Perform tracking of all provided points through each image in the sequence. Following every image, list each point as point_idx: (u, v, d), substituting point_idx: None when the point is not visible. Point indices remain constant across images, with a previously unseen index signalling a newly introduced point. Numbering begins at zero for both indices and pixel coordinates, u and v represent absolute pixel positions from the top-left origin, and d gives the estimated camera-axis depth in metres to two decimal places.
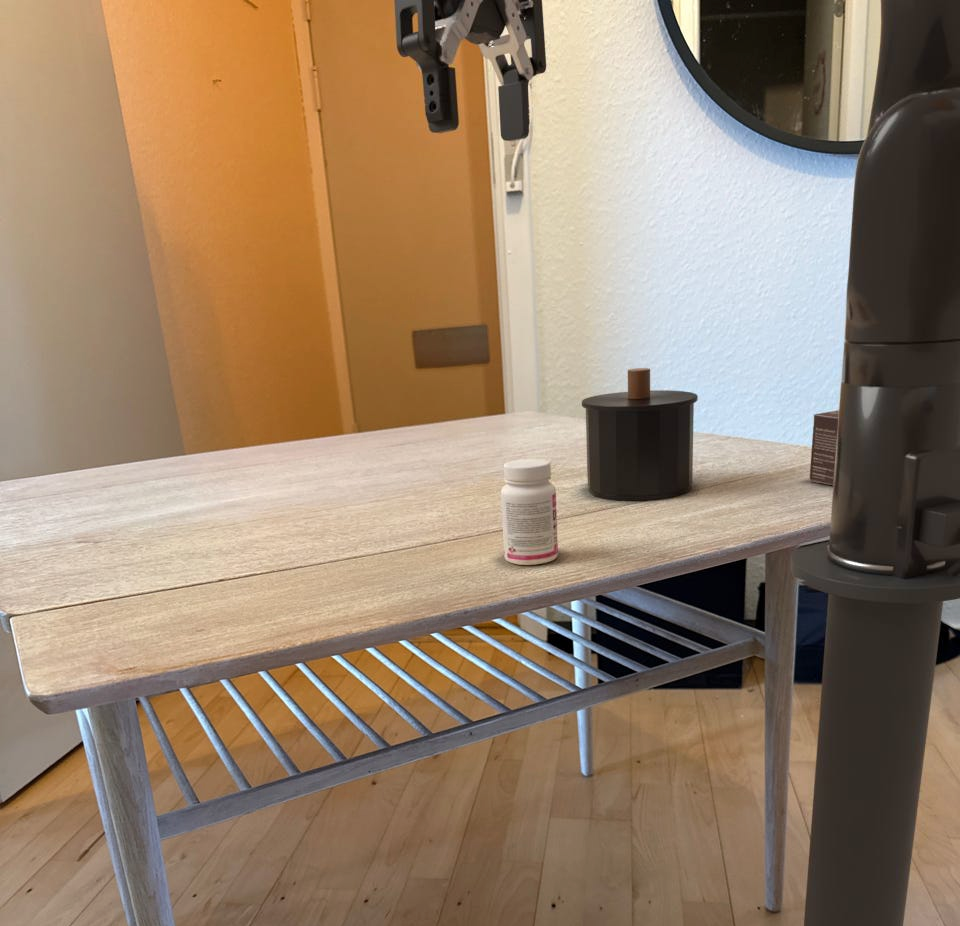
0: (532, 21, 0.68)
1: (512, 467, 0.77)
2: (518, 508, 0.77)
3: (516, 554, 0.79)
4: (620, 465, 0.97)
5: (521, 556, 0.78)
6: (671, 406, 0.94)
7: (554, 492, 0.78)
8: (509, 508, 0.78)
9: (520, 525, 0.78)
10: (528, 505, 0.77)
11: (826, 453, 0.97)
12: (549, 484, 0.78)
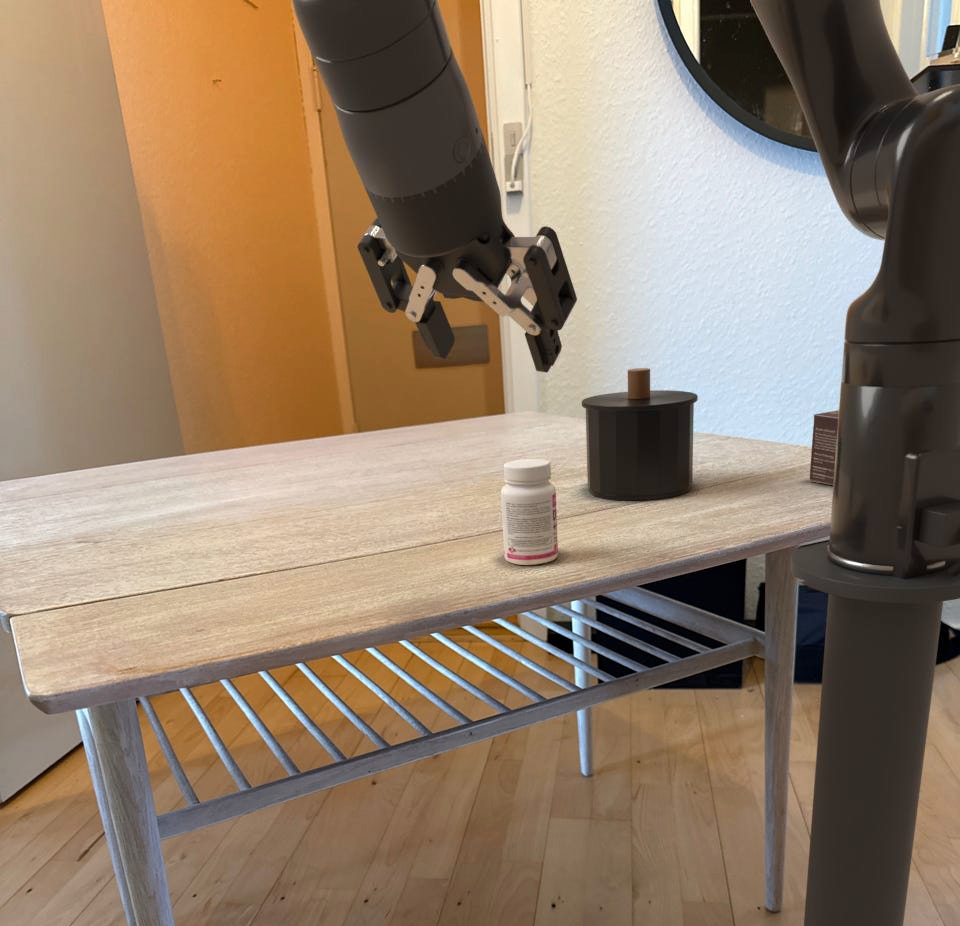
0: None
1: (512, 467, 0.77)
2: (518, 508, 0.77)
3: (516, 554, 0.79)
4: (620, 465, 0.97)
5: (521, 556, 0.78)
6: (671, 406, 0.94)
7: (554, 492, 0.78)
8: (509, 508, 0.78)
9: (520, 525, 0.78)
10: (528, 505, 0.77)
11: (826, 453, 0.97)
12: (549, 484, 0.78)
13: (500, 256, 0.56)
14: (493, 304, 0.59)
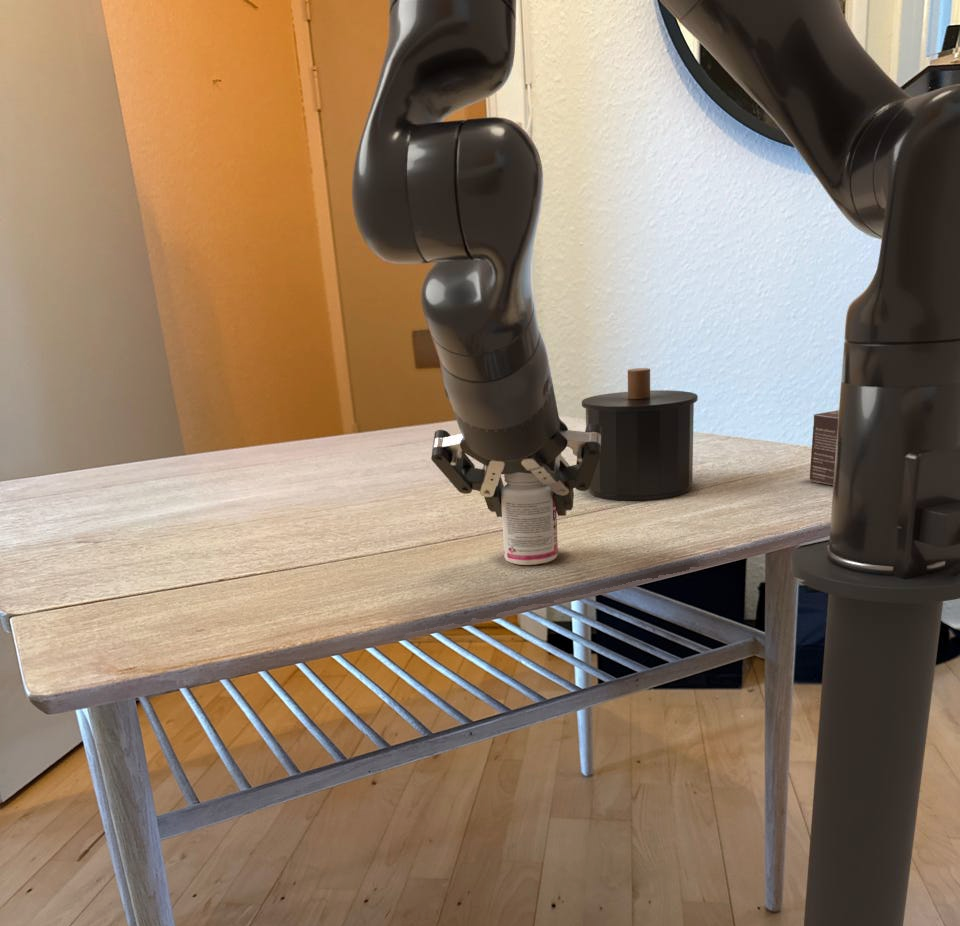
0: None
1: None
2: (518, 508, 0.77)
3: (516, 554, 0.79)
4: (620, 465, 0.97)
5: (521, 556, 0.78)
6: (671, 406, 0.94)
7: None
8: (509, 508, 0.78)
9: (520, 525, 0.78)
10: (528, 505, 0.77)
11: (826, 453, 0.97)
12: None
13: (562, 444, 0.70)
14: (542, 478, 0.74)
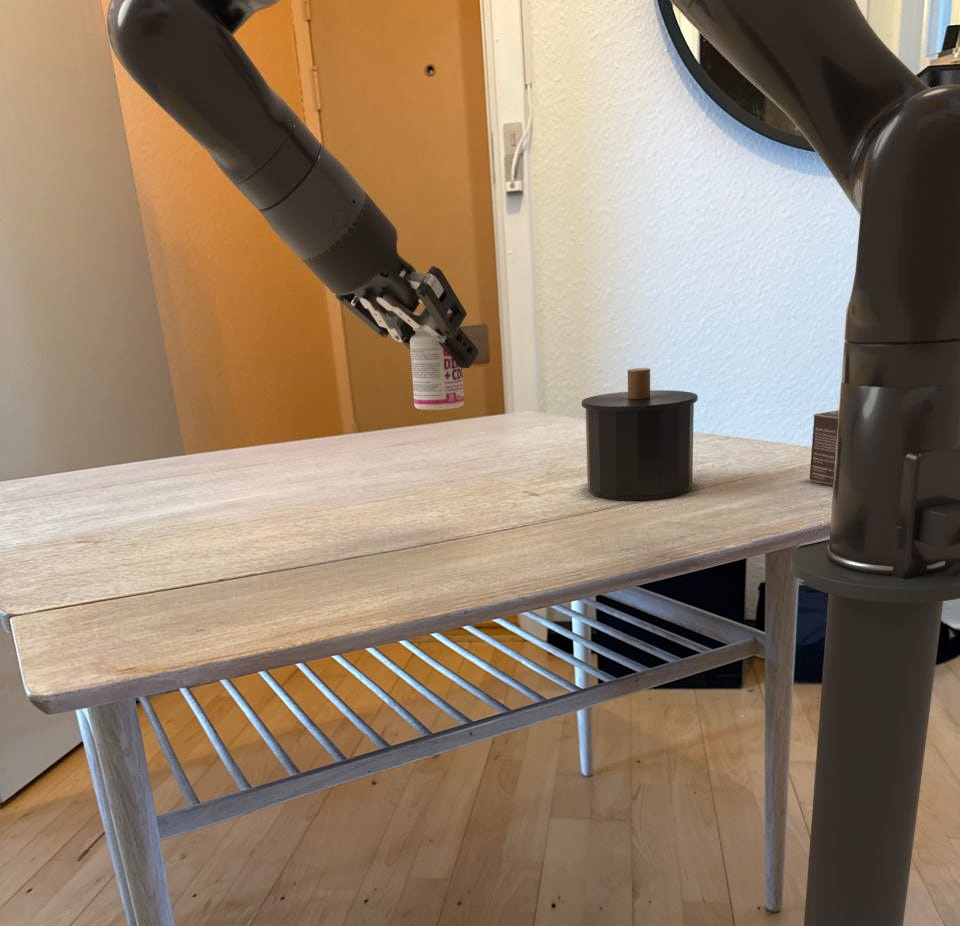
0: None
1: None
2: (412, 353, 0.83)
3: (414, 398, 0.85)
4: (620, 465, 0.97)
5: (416, 400, 0.85)
6: (671, 406, 0.94)
7: None
8: None
9: (414, 369, 0.84)
10: (417, 350, 0.83)
11: (826, 453, 0.97)
12: None
13: (399, 284, 0.76)
14: (408, 321, 0.79)
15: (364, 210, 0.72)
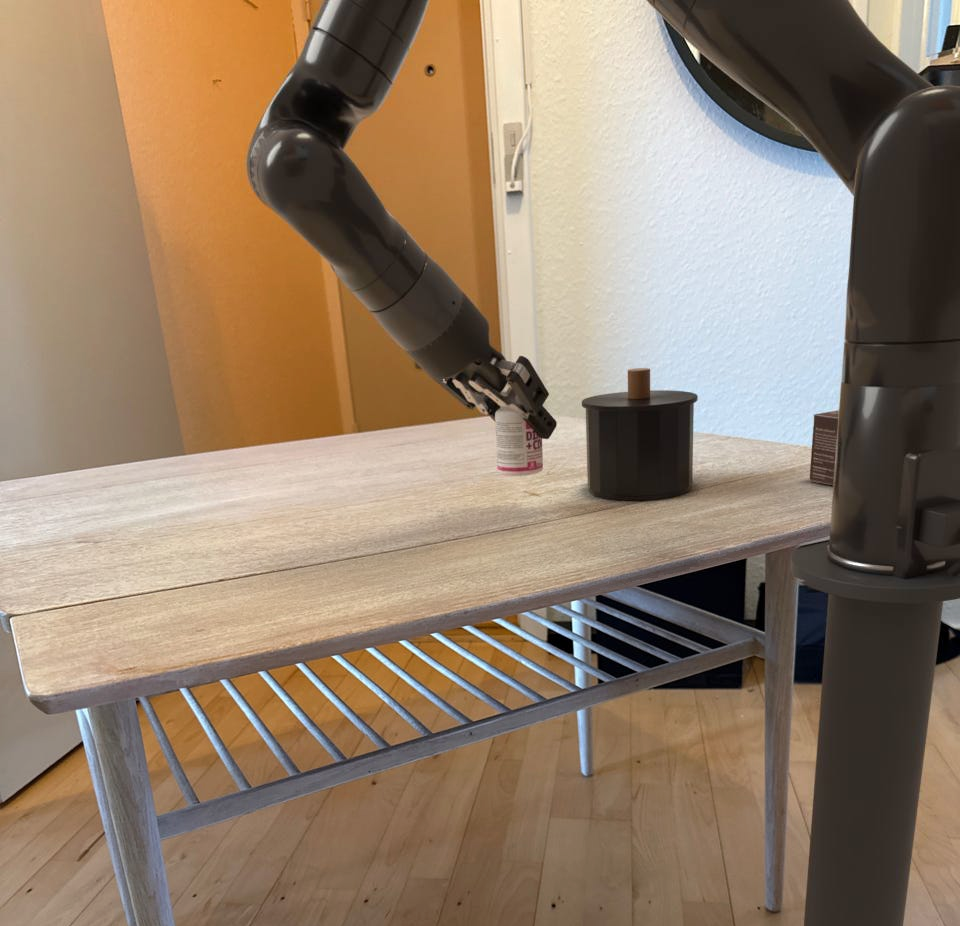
0: None
1: None
2: (497, 425, 0.93)
3: (498, 465, 0.94)
4: (620, 465, 0.97)
5: (499, 467, 0.94)
6: (671, 406, 0.94)
7: None
8: (495, 425, 0.94)
9: (498, 440, 0.93)
10: (502, 424, 0.92)
11: (826, 453, 0.97)
12: None
13: (491, 371, 0.85)
14: (496, 400, 0.89)
15: (462, 309, 0.82)
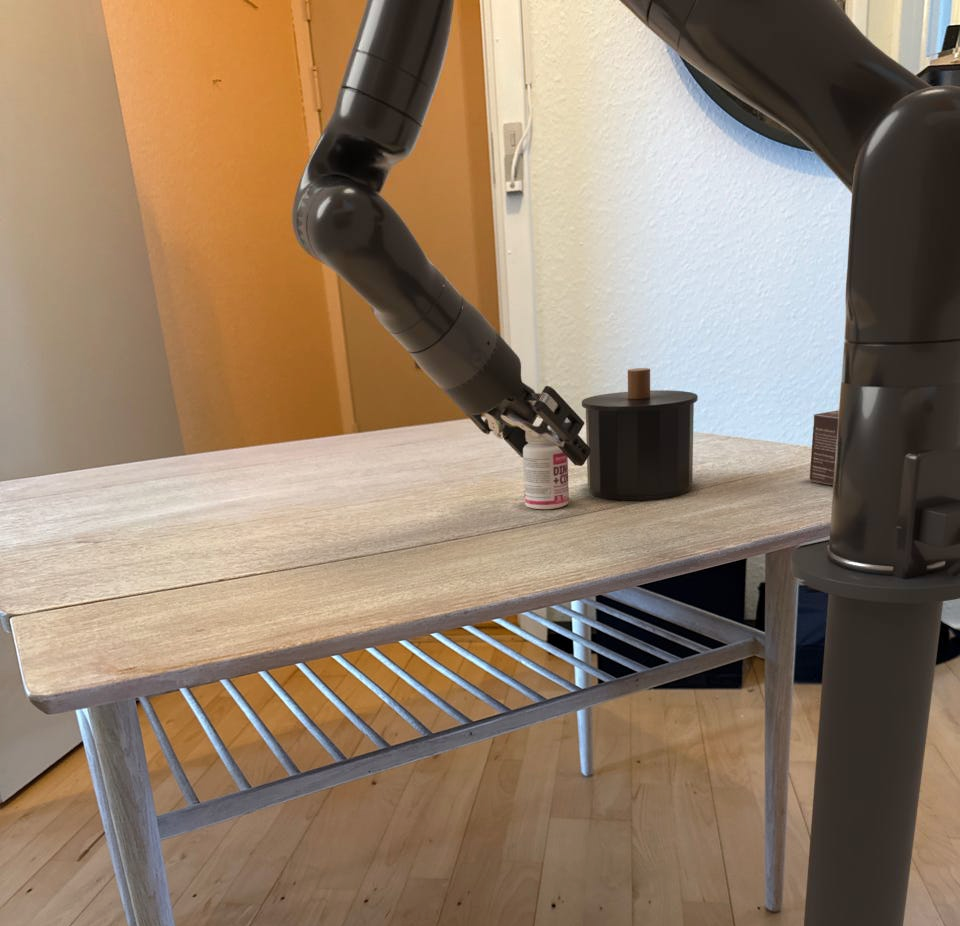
0: None
1: None
2: (525, 461, 0.96)
3: (525, 498, 0.98)
4: (620, 465, 0.97)
5: (527, 500, 0.98)
6: (671, 406, 0.94)
7: (557, 452, 0.95)
8: (523, 460, 0.97)
9: (526, 474, 0.97)
10: (530, 460, 0.96)
11: (826, 453, 0.97)
12: (555, 445, 0.95)
13: (523, 406, 0.88)
14: (530, 432, 0.91)
15: (496, 349, 0.85)
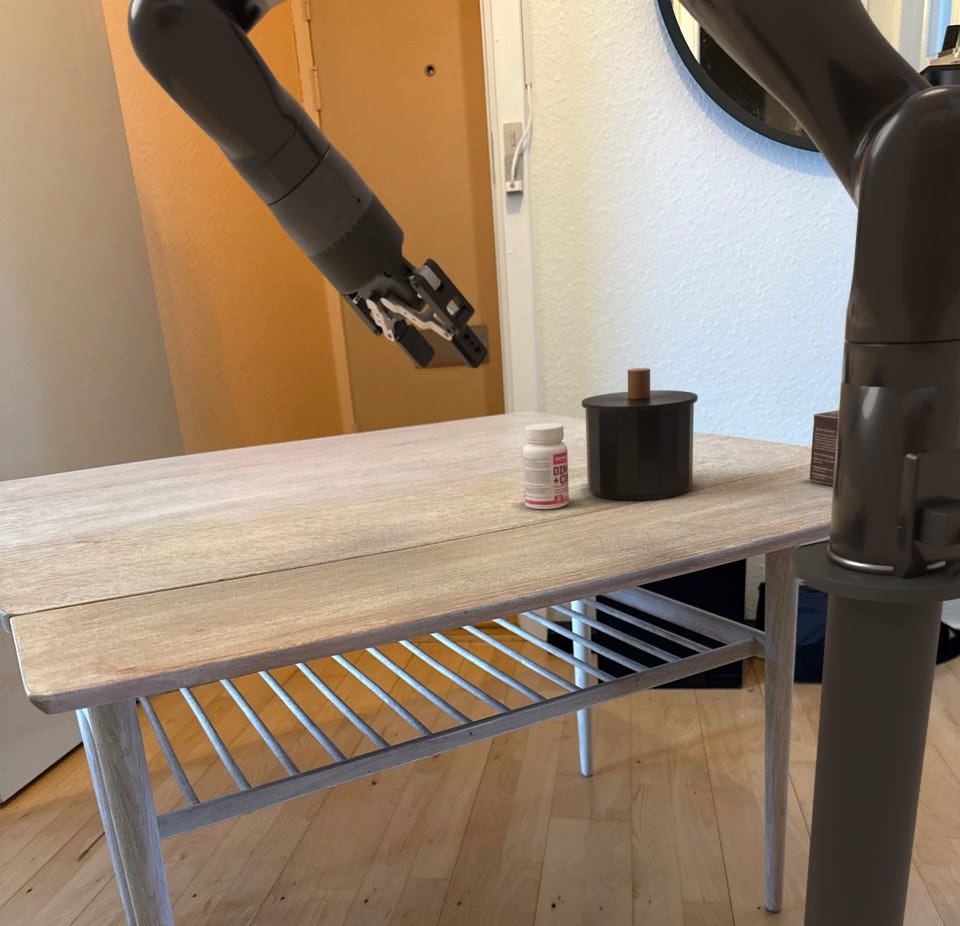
0: None
1: (526, 427, 0.96)
2: (525, 461, 0.96)
3: (525, 498, 0.98)
4: (620, 465, 0.97)
5: (527, 500, 0.98)
6: (671, 406, 0.94)
7: (557, 452, 0.95)
8: (523, 460, 0.97)
9: (526, 474, 0.97)
10: (530, 460, 0.96)
11: (826, 453, 0.97)
12: (555, 445, 0.95)
13: (402, 285, 0.76)
14: (413, 320, 0.79)
15: (369, 209, 0.73)
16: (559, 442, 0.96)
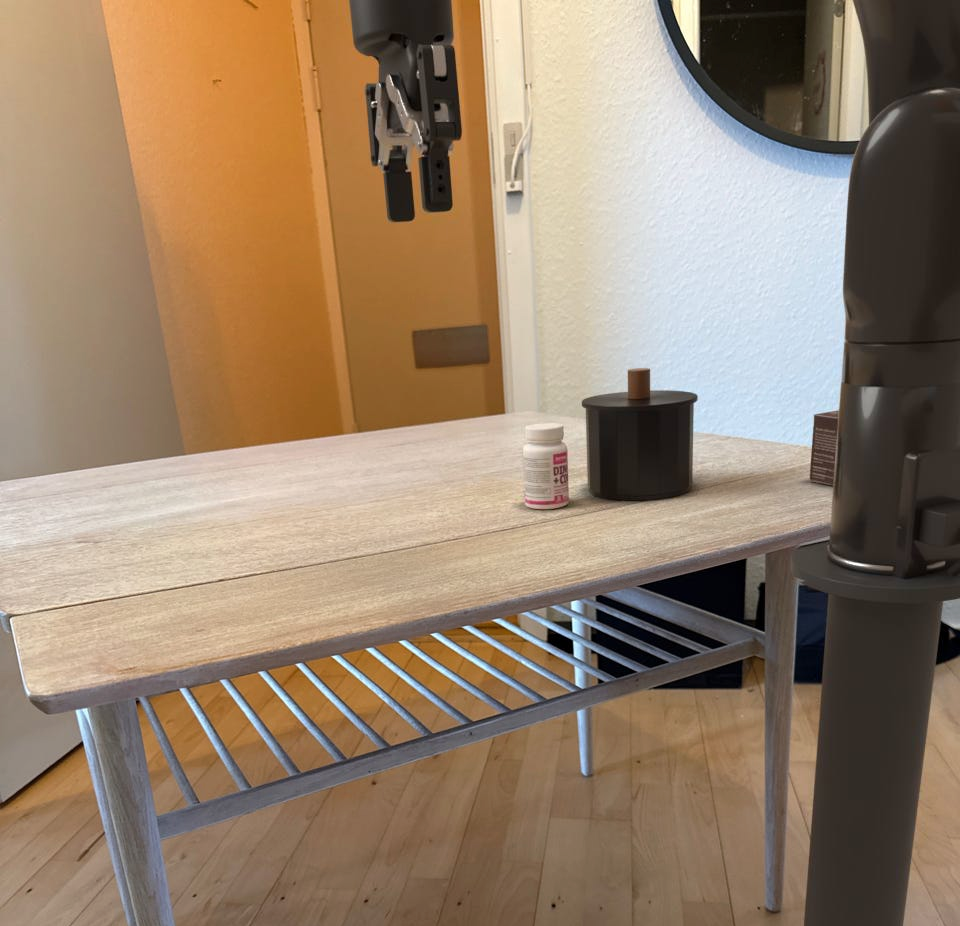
0: None
1: (526, 427, 0.96)
2: (525, 461, 0.96)
3: (525, 498, 0.98)
4: (620, 465, 0.97)
5: (527, 500, 0.98)
6: (671, 406, 0.94)
7: (557, 452, 0.95)
8: (523, 460, 0.97)
9: (526, 474, 0.97)
10: (530, 459, 0.96)
11: (826, 453, 0.97)
12: (555, 445, 0.95)
13: (411, 61, 0.65)
14: (401, 115, 0.67)
15: None
16: (559, 442, 0.96)
